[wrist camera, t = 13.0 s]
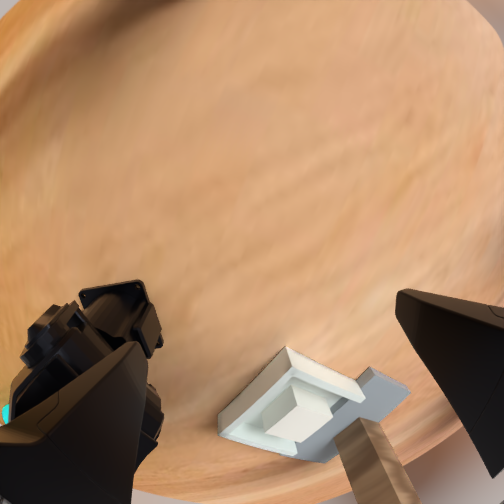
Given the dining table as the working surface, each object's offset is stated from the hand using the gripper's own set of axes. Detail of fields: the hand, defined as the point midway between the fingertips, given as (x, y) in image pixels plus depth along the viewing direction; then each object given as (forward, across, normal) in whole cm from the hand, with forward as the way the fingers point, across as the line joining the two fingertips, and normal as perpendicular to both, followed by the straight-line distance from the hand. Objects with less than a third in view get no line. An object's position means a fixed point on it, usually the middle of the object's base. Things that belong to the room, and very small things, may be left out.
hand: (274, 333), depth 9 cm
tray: (+13, -1, +18) cm, 22 cm away
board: (+13, -8, +25) cm, 29 cm away
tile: (+13, -2, +19) cm, 23 cm away
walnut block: (+12, -9, +26) cm, 30 cm away
